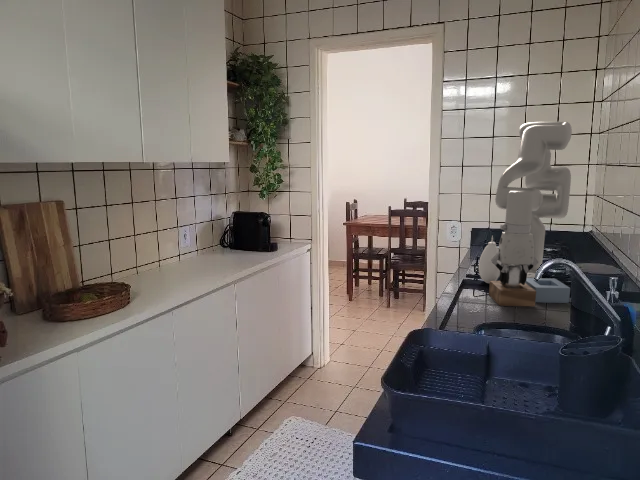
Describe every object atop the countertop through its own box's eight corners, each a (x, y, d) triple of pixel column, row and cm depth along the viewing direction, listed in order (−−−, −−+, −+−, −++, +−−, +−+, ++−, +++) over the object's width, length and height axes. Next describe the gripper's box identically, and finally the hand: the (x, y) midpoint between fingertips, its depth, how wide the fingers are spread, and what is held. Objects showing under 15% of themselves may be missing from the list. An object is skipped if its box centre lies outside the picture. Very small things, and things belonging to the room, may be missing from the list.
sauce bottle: (482, 278, 178) (485, 232, 175) (502, 282, 173) (507, 235, 170) (474, 283, 172) (477, 235, 169) (495, 287, 168) (499, 238, 164)
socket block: (521, 291, 162) (522, 278, 161) (553, 292, 162) (554, 278, 161) (534, 302, 152) (535, 287, 151) (568, 302, 151) (570, 288, 150)
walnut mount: (488, 294, 159) (489, 280, 158) (521, 295, 158) (522, 281, 157) (499, 305, 148) (500, 290, 147) (534, 306, 148) (536, 291, 147)
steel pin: (501, 298, 156) (504, 263, 153) (515, 298, 155) (518, 263, 153) (506, 302, 151) (509, 266, 149) (520, 302, 151) (523, 266, 149)
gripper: (494, 230, 145) (489, 286, 149) (549, 231, 145) (543, 287, 148) (486, 226, 153) (482, 279, 156) (539, 227, 152) (534, 280, 155)
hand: (512, 282), depth 152 cm, fingers open, 5 cm apart
